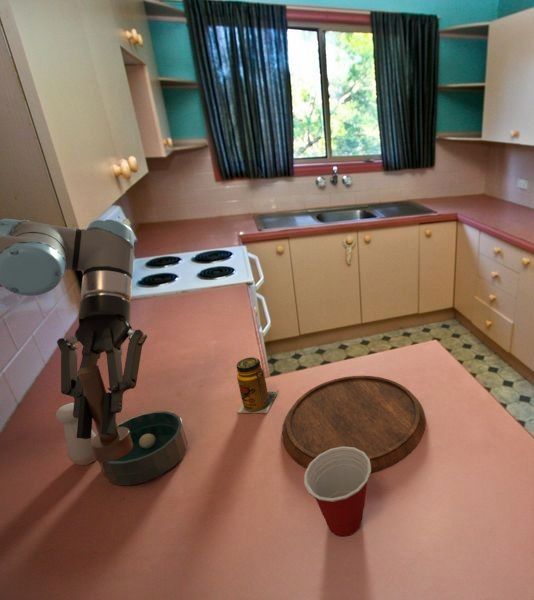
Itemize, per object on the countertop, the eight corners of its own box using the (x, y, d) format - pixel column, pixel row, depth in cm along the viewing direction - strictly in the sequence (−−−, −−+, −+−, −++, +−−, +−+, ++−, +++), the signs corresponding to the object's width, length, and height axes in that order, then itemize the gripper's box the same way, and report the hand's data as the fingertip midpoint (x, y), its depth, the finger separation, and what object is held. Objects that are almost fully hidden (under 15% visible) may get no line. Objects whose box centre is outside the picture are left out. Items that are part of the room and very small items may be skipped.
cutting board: (317, 504, 76) (315, 493, 75) (263, 411, 101) (261, 402, 100) (454, 433, 92) (454, 424, 91) (379, 368, 117) (378, 360, 116)
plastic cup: (306, 507, 76) (298, 455, 71) (365, 488, 79) (360, 438, 74) (318, 562, 66) (309, 506, 62) (383, 538, 70) (380, 484, 65)
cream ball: (139, 449, 90) (134, 446, 88) (144, 434, 92) (139, 431, 89) (154, 450, 91) (150, 447, 88) (159, 435, 92) (155, 432, 89)
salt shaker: (108, 457, 89) (88, 406, 83) (76, 473, 85) (53, 421, 80) (100, 444, 92) (80, 394, 87) (68, 459, 88) (46, 408, 83)
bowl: (94, 496, 79) (83, 472, 77) (117, 441, 93) (109, 419, 90) (182, 475, 83) (174, 452, 81) (192, 426, 97) (186, 405, 94)
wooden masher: (91, 466, 70) (61, 381, 65) (100, 445, 75) (73, 365, 70) (129, 456, 72) (103, 373, 66) (136, 437, 77) (112, 358, 71)
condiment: (237, 413, 101) (227, 370, 96) (250, 391, 108) (242, 351, 104) (267, 413, 100) (258, 370, 95) (278, 392, 108) (271, 351, 103)
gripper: (161, 304, 81) (158, 430, 73) (68, 313, 78) (54, 446, 70) (145, 288, 74) (140, 425, 66) (43, 298, 71) (23, 443, 63)
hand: (96, 435), depth 68 cm, fingers closed on wooden masher, 3 cm apart
